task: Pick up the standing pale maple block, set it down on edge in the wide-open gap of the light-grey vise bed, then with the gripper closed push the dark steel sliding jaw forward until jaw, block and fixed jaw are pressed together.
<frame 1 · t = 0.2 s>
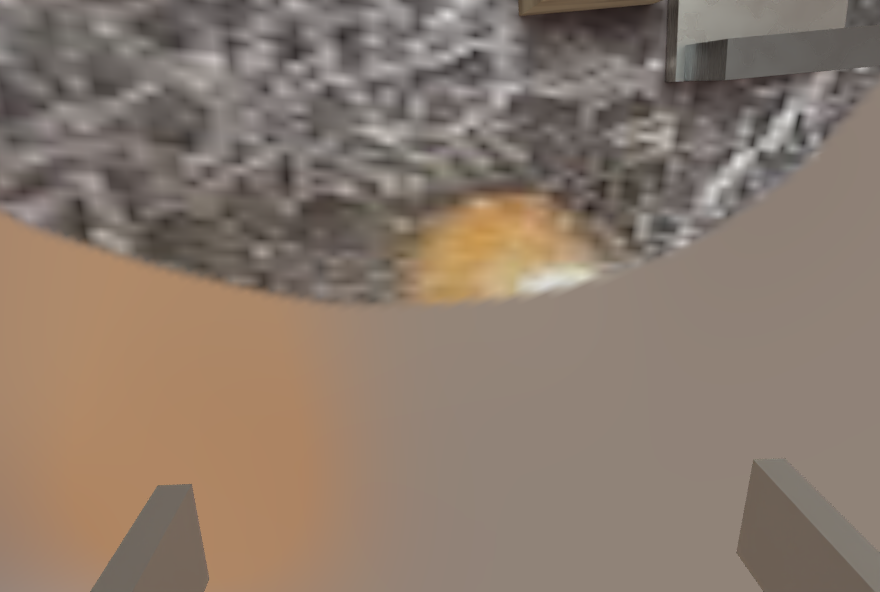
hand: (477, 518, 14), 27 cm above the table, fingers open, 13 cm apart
fixed jaw: (745, 57, 37), resting on vise bed
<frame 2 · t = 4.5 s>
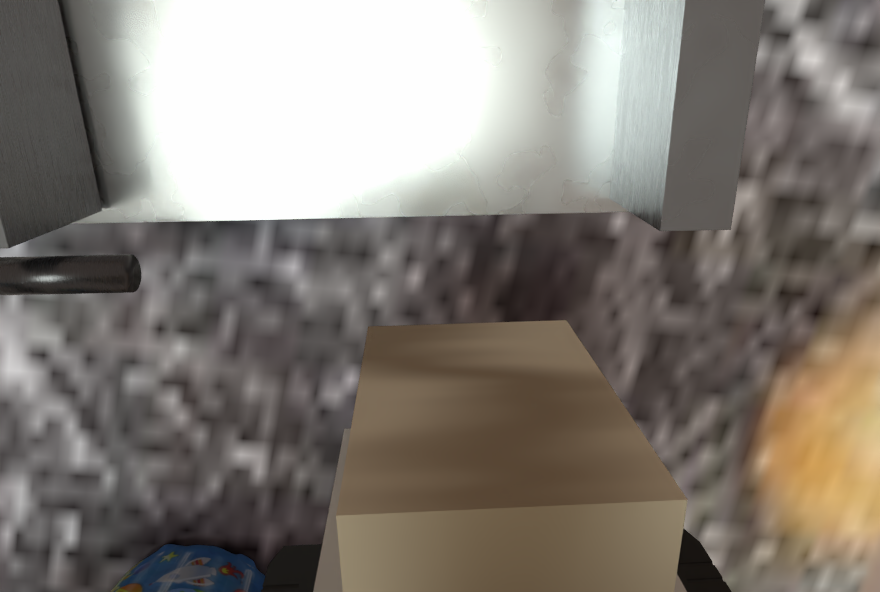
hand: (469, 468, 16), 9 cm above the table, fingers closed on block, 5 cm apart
vise bed: (327, 70, 21), on the table
fixed jaw: (634, 65, 21), resting on vise bed
block: (467, 459, 16), point 9 cm above the table, touching gripper
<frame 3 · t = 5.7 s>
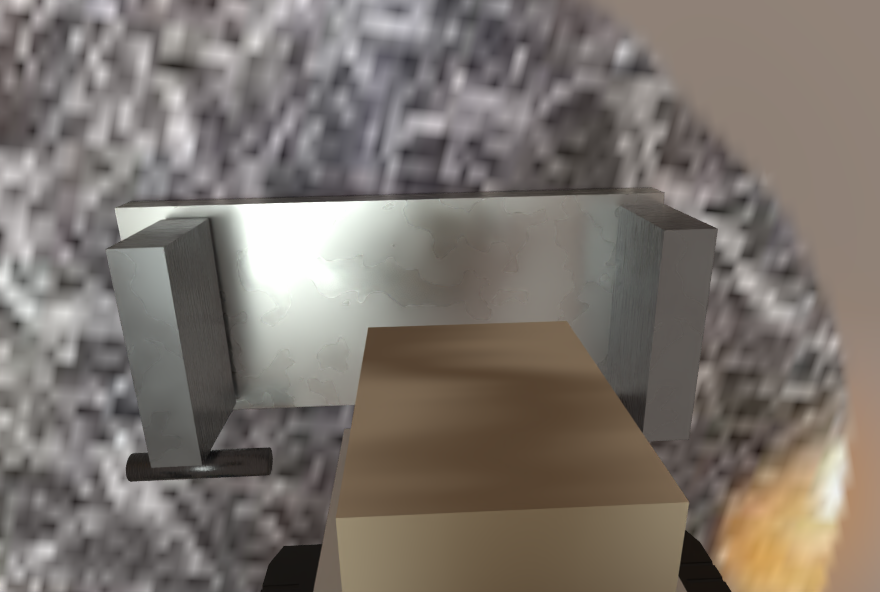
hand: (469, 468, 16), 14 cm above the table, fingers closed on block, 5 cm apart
sliding jaw: (185, 361, 25), point 4 cm above the table, slide at 0.0 cm
vise bed: (399, 296, 29), on the table
fixed jaw: (621, 289, 30), resting on vise bed
block: (468, 460, 16), point 14 cm above the table, touching gripper
when the fingers open (2 cm above the table, at t = 7.5 s): block stays where it is, resting on vise bed.
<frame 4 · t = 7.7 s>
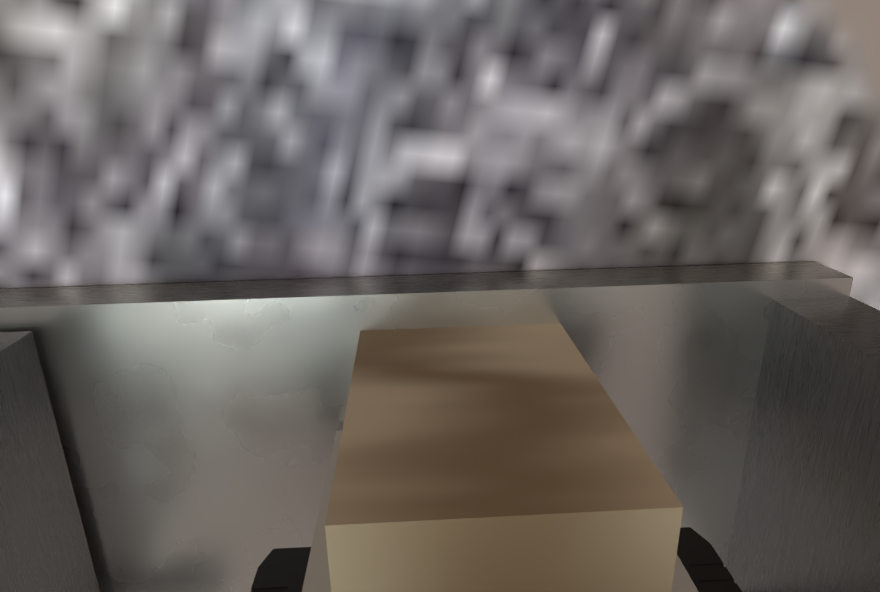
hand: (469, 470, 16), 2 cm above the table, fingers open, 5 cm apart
vise bed: (386, 439, 18), on the table
fixed jaw: (751, 422, 18), resting on vise bed
block: (461, 463, 16), point 1 cm above the table, touching gripper, vise bed
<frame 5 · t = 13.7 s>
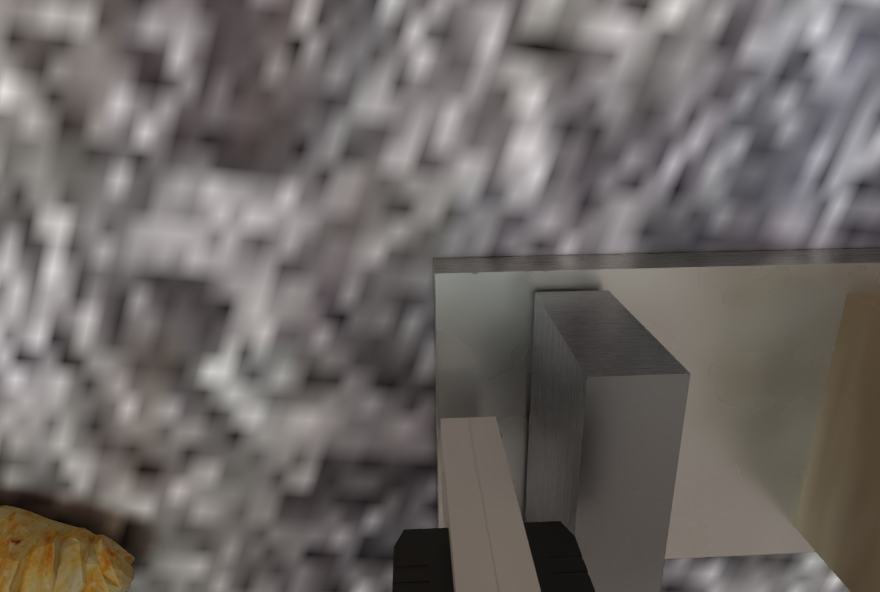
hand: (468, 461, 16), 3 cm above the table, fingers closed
sliding jaw: (583, 523, 16), point 4 cm above the table, slide at 0.7 cm, touching gripper
vise bed: (800, 396, 20), on the table
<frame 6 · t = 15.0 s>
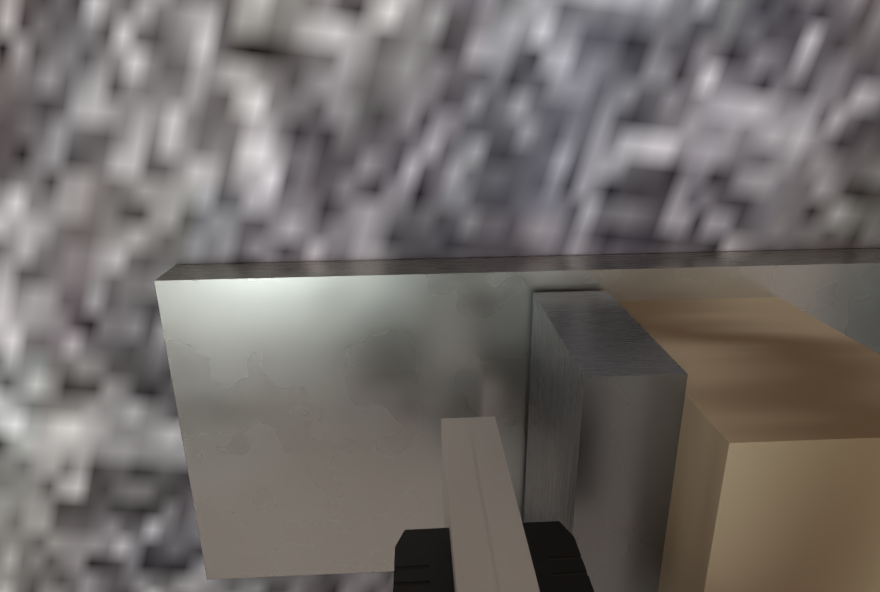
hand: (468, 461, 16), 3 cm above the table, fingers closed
sliding jaw: (581, 524, 16), point 4 cm above the table, slide at 8.1 cm, touching gripper
vise bed: (577, 404, 19), on the table
block: (674, 424, 18), point 1 cm above the table, touching vise bed
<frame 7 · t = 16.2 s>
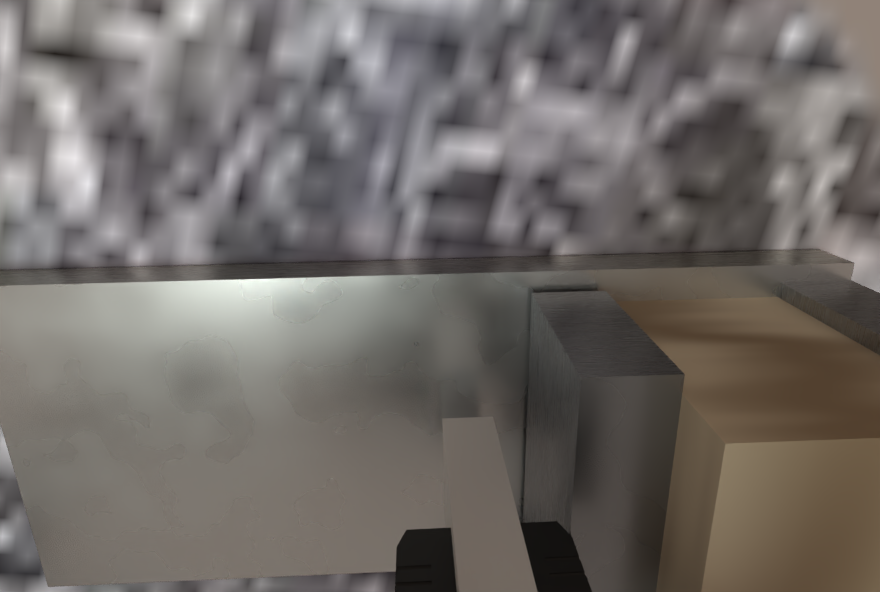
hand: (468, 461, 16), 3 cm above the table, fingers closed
sliding jaw: (580, 524, 16), point 4 cm above the table, slide at 13.0 cm, touching block, gripper
vise bed: (422, 410, 19), on the table
fixed jaw: (759, 398, 20), resting on vise bed
block: (673, 424, 18), point 1 cm above the table, touching fixed jaw, sliding jaw, vise bed
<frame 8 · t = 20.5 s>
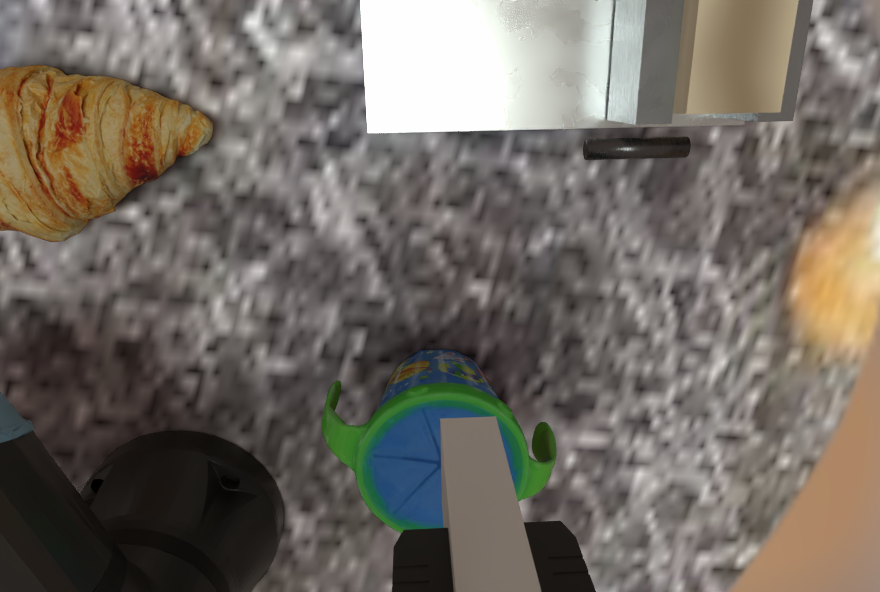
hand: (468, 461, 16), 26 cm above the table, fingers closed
sliding jaw: (642, 58, 34), point 4 cm above the table, slide at 13.0 cm, touching block
vise bed: (556, 44, 38), on the table
fixed jaw: (728, 42, 38), resting on vise bed
snack cup: (436, 389, 45), on the table
block: (684, 39, 36), point 1 cm above the table, touching fixed jaw, sliding jaw, vise bed
croissant: (62, 153, 39), on the table
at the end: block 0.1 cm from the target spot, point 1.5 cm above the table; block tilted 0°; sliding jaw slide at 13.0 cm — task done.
